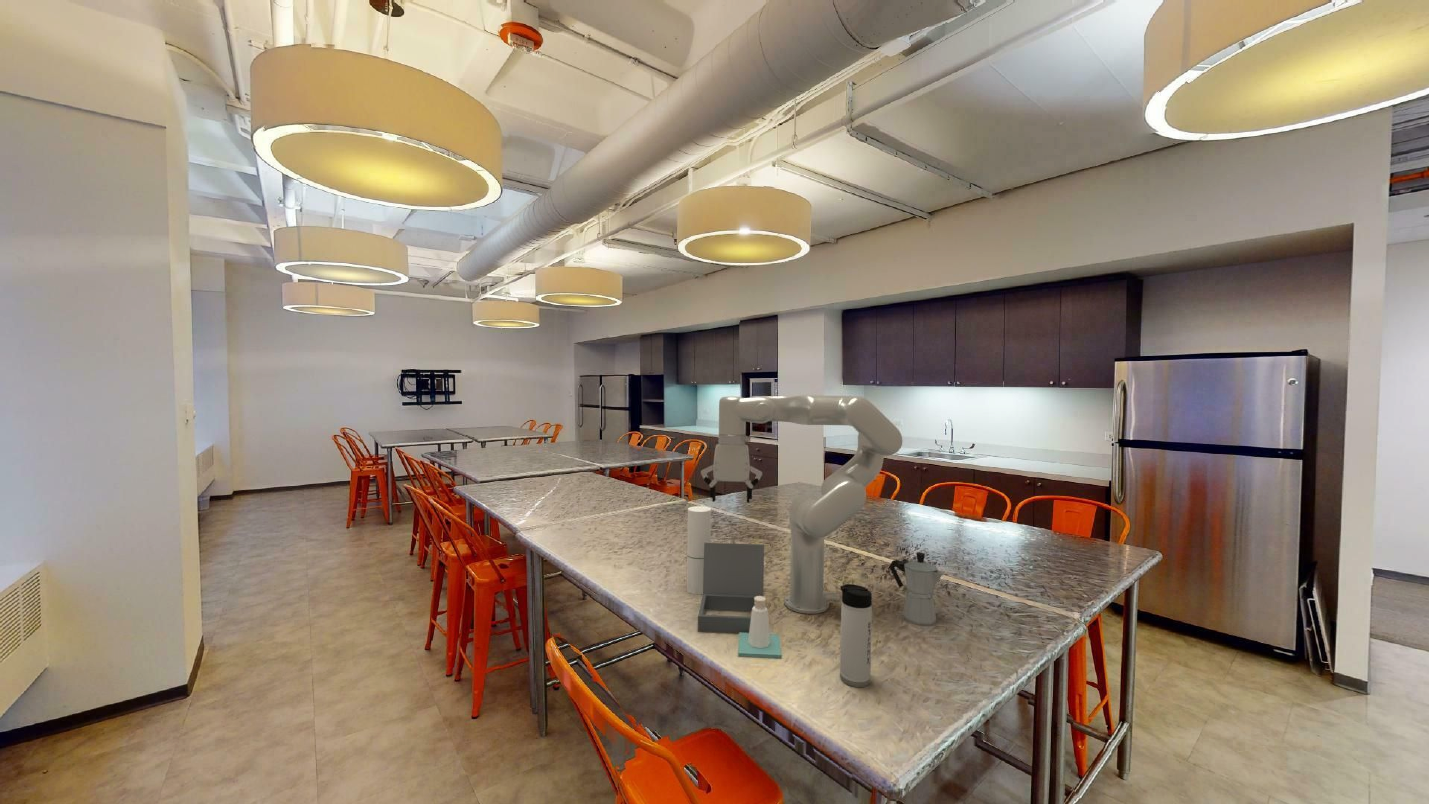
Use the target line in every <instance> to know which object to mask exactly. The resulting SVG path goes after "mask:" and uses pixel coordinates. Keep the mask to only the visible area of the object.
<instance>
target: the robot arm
mask: <svg viewBox="0 0 1429 804" xmlns="http://www.w3.org/2000/svg"><path fill="white" fill-rule="evenodd" d="M746 422H748V423H754V424H766V423H768V422H782V423H793V424H796V425H804V426H805V425H806V426H849V427H853V429H855V431H857V433H858V434H857V449H856V452H855V454H854V456H852V458H850V460H849V459H848V461H847V462H846V463H845V464H843V465H842V466H841V467H840V468H838V469H837V470H835V471H834V472H832V474H830V475H829V476H828V477H826V478H825V479H824V480H823V481H822V483H821V486H820V493H821V497H820V498H817V497H816V496H814V495H811V494H806V493H805V494H800V495H798V496H797V497H795V498H794V499H793V500H792V501H791V503H790V507H789V513H788V514H789V515H788V516H789V517H788V518H789V526H790V527H789V528H790V557H789V558H790V563H789V564H790V565H789V567H790V568H789V569H790V570H789V573H790V574H789V594H787V595H785V597H784V598H783V600H784V601H783V603H784V605H785V606H786V608H788V609H789V610H792V611H793V612H796V613H800V614H807V615H809V614H810V615H815V614H821V613H824V612H826V611H827V610H828V609H829V605H830V604H829V603H830V602H837V603H839V602H841V594H838V593H837V594H835V592H834V591H827V590H825V588H824V586H825V585H824V578H825V577H824V576H825V575H824V574H825V537H826V536H828V535H831V534H833V532H835V531H836V530H838V529H839V528H840V527H841V526H843V525H844V524H845V523H847V522H848V521H850V520H851V518H853V517H854V516H856V515H857V514H858V513H859V512H860V511H861V510H862V509H863V507H864V505H865V504H866V503H865V502H867V501H866V500H867V491H866V487H867V486H868V485H870V484H871V483H872V482H873V481H874V480H875V479H876V478H877V477H878V476H879V474H880V472H881V470H882V468H883V464H884V458H885V457H886V456H893V455H895V454H897V453H898V452H899V451H900V450H901V448H902V446H903V436H902V434H901V432H900V430H899V428H898V427H897V426H896V425H895V424H894V423H893V422H892V421H891V420H890V419H889V418H887V417H886V416H885V415H884V414H883V412H882V411H881V410H880V409H879V408H877V406H875V405H874V404H873V403H872V402H871V401H870V400H868V399H867V398H865V397H863V396H858V395H857V396H856V395H820V394H819V395H816V394H815V395H813V394H811V395H810V394H806V395H805V394H804V395H802V394H801V395H792V396H791V395H790V396H786V395H785V396H777V395H776V396H774V395H772V396H767V395H753V396H749V397H742V396H722V397H721V398H720V399H719V402H718V443H717V444H715V449H714V456H713V464H712V465H710V466H708V467H706V468H704V469H702V470H701V471H700V475H701V476H702V477H701V478H702V479H703V482H705V483H706V484H707V485H708V486H709V494H710V495H709V498H710V499H712V503H714V502H716V499H717V495H716V493H717V488H716V484H717V483H718V482H737V483H738V482H740V483H741V482H742V483H745V485H747V487H746V503H747V504H749V503H750V500H752V499H753V488H754V487H755V486H756V485H757V484H758V483H759V481H760V480H761V478H762V476H763V471H761V470H759V469H757V468H755V467H753V466H752V465H750V463H751V462H750V451H749V446H748V445H747V444H746V443H748V442H751V436H747V435H746V429H747V428H746V427H747V423H746ZM710 472H713V473H712V475H713V479H711V478H710V477H709V476H708V473H710ZM750 473H752V474H754V475H756V476H755V477H754V478H753V479H752V480H751V479H750Z"/></svg>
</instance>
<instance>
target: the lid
mask: <svg viewBox="0 0 1429 804" xmlns="http://www.w3.org/2000/svg"><path fill="white" fill-rule="evenodd" d="M764 561H765V544H760V543H759V544H758V543H757V544H755V543H729V542H727V543H726V542H711V543H704V571H703V594H714V595H738V596H763V597H764V590H765V588H764V583H765V580H764V578H765V575H764V573H765V571H764V569H765V567H764V565H765V562H764ZM703 594H702V595H703Z"/></svg>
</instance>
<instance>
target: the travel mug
mask: <svg viewBox="0 0 1429 804" xmlns="http://www.w3.org/2000/svg"><path fill="white" fill-rule="evenodd" d="M839 589H840V591H841V593H842V594H841V607H840V608H841V615H840V616H841V617H840V621H841V622H840V654H839V655H840V658H839V659H840V663H839V665H840V666H839V678H840V680H841V681H842V682H843V683H844V684H846V685H848V686H850V687H854V688H863V687H867V686H868V685H870V684H871V672H872V671H871V665H872V662H871V661H872V660H871V659H872V625H873V624H872V623H873V620H872V619H873V618H872V617H873V604H872V603H873V602H872V601H873V598H872V597H873V595H872V592H871V591H870V590H869V589H868V588H866V587H864V586H861V585H858V584H852V583H851V584H850V583H845V584H843V585H840V588H839Z"/></svg>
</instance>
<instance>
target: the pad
mask: <svg viewBox="0 0 1429 804" xmlns="http://www.w3.org/2000/svg"><path fill="white" fill-rule="evenodd" d="M748 638H749V633H742V632H739V634H738V648H737V649H738V651H737V652H738V653H737V657H742V658H743V657H744V658H760V659H761V658H763V659H780V660H781V659H782V658H783V654H782V648H781V646H782V645H781V639H780V634H779V633H770V644H769V646H768V647H765V648H756V647H752V646H751V645H750V644H749V643H748Z"/></svg>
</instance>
